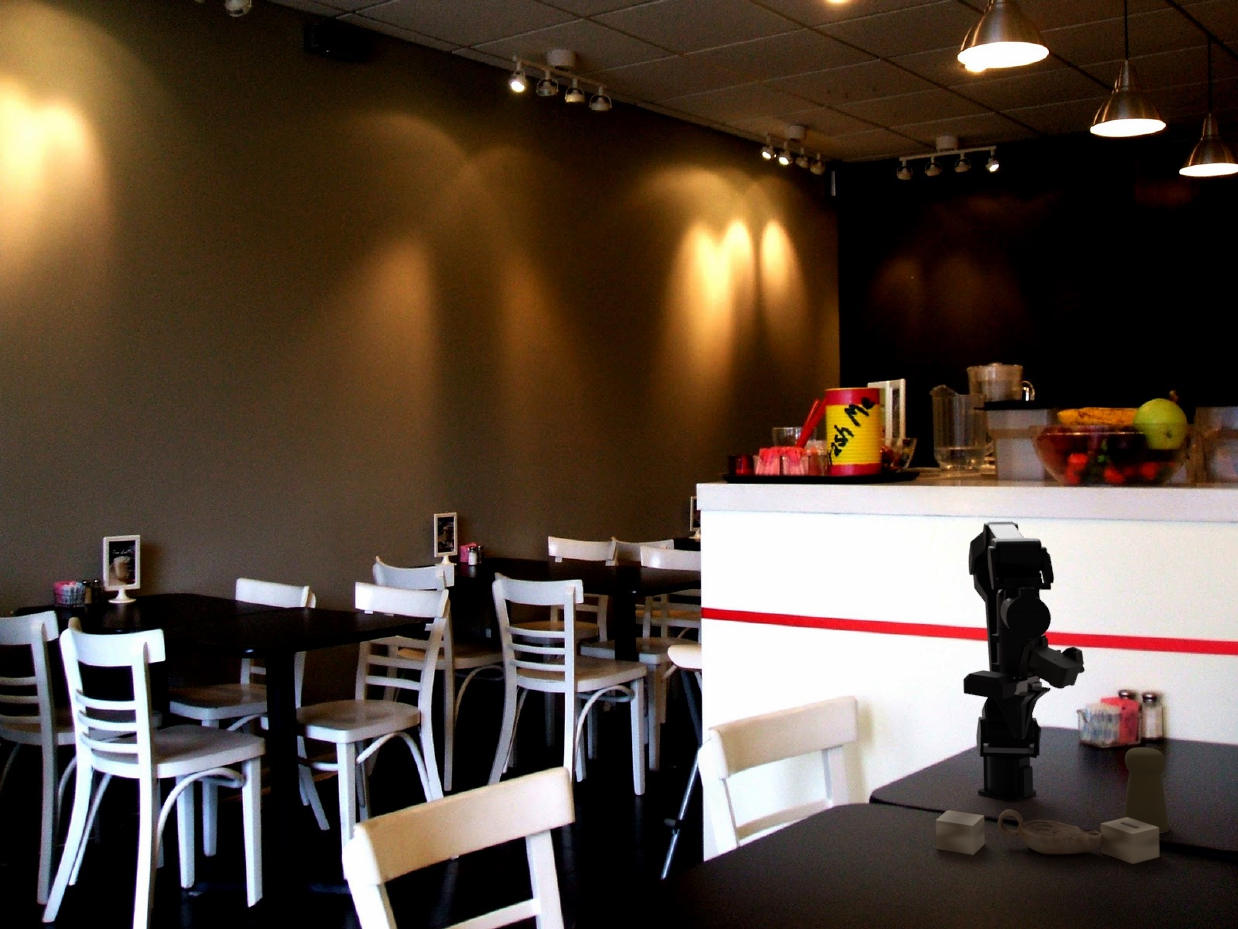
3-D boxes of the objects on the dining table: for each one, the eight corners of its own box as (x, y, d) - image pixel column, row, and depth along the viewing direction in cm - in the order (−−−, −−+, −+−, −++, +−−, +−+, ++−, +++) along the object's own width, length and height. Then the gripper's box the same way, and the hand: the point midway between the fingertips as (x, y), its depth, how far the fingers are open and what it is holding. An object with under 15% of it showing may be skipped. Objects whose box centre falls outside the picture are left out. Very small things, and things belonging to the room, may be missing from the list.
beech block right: (1101, 853, 163) (1100, 822, 163) (1127, 847, 165) (1127, 816, 165) (1132, 865, 159) (1132, 833, 158) (1159, 858, 161) (1158, 826, 161)
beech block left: (936, 849, 166) (935, 820, 166) (948, 839, 170) (947, 810, 170) (973, 856, 163) (972, 825, 163) (984, 844, 167) (984, 815, 167)
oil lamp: (1104, 848, 165) (1104, 811, 165) (1100, 866, 158) (1099, 828, 158) (1002, 836, 171) (1002, 800, 170) (994, 854, 164) (993, 816, 164)
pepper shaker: (1174, 835, 169) (1173, 755, 169) (1127, 833, 170) (1126, 754, 170) (1163, 821, 175) (1162, 744, 175) (1118, 819, 176) (1117, 743, 176)
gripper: (1032, 642, 161) (1034, 761, 162) (1106, 626, 173) (1108, 736, 174) (960, 633, 170) (962, 746, 170) (1035, 618, 182) (1036, 723, 182)
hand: (1019, 738), depth 174 cm, fingers closed
